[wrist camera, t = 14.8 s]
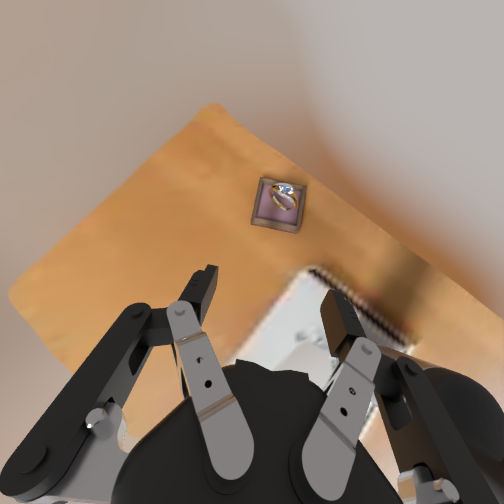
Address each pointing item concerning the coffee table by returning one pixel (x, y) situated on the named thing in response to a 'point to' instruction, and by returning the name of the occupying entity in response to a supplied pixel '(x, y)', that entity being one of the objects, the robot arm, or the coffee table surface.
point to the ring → (284, 190)
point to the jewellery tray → (271, 214)
